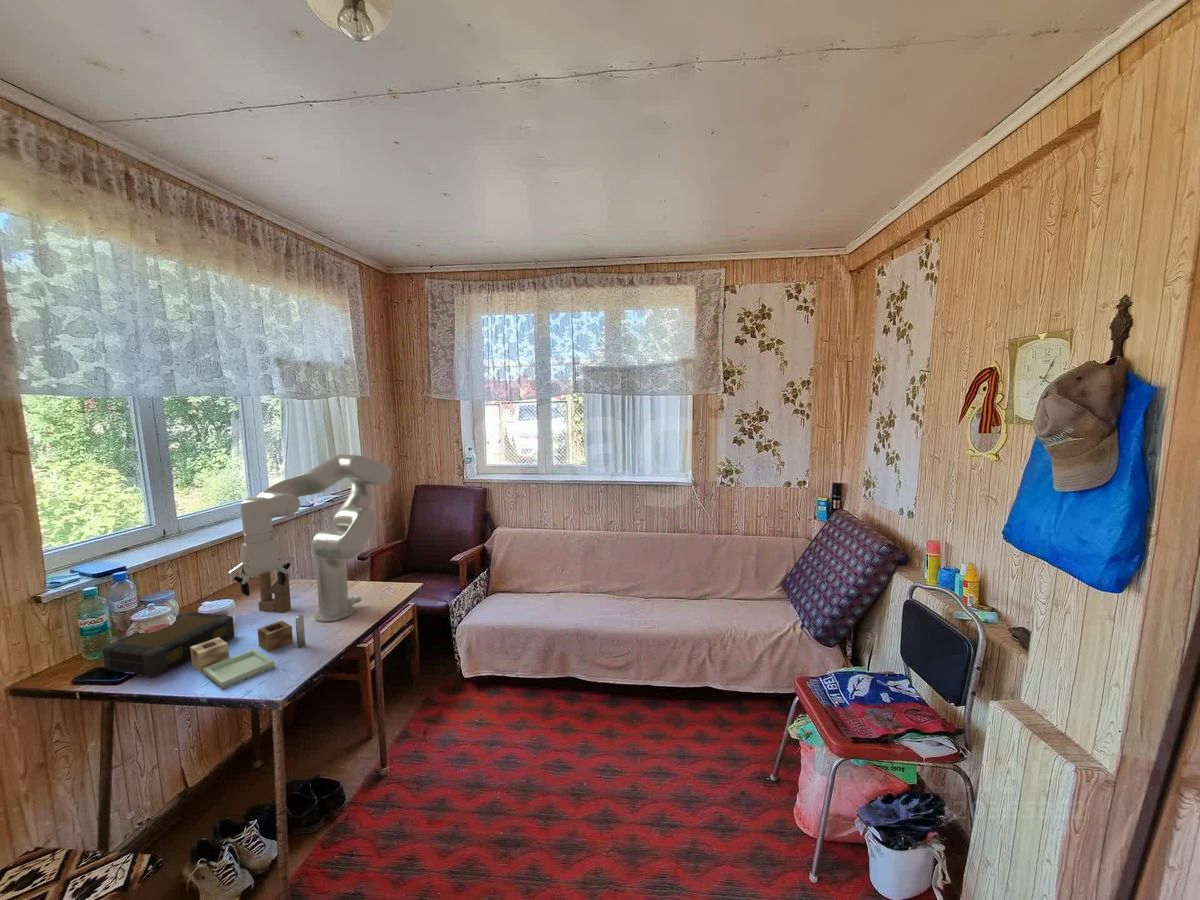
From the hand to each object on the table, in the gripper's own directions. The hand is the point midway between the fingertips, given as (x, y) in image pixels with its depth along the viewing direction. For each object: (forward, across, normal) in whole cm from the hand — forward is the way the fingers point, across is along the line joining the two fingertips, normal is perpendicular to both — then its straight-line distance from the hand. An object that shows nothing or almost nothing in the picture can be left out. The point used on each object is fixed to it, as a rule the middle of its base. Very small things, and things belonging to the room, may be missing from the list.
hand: (264, 589), depth 153 cm
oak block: (+19, +15, -2) cm, 24 cm away
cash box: (+19, +20, -20) cm, 34 cm away
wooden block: (+20, -11, -29) cm, 37 cm away
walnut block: (+19, -1, +1) cm, 19 cm away
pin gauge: (+19, -6, +8) cm, 22 cm away
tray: (+19, +11, +10) cm, 24 cm away
